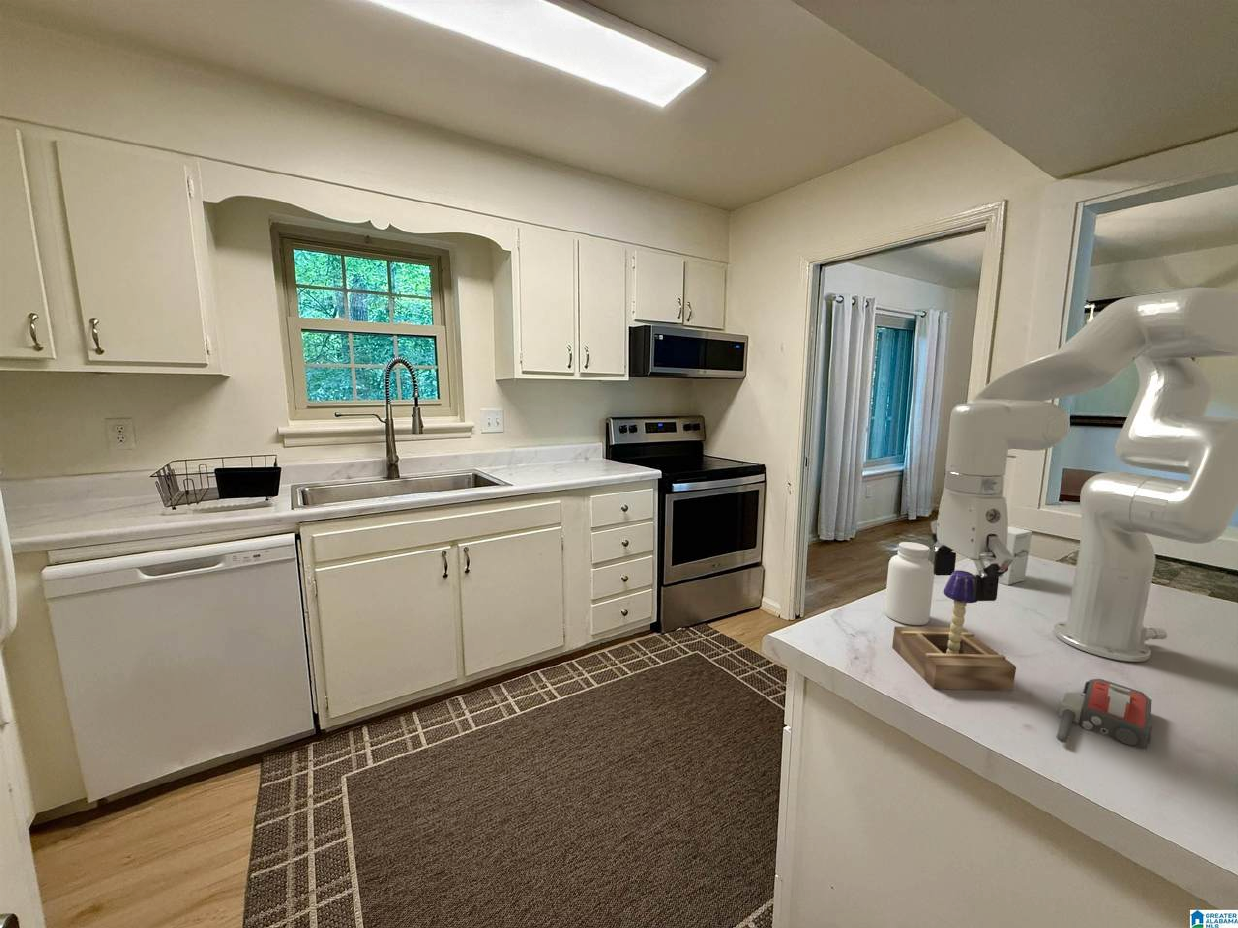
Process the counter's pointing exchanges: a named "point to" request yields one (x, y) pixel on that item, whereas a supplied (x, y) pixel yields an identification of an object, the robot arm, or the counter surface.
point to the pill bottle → (910, 585)
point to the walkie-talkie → (1108, 712)
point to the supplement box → (1015, 555)
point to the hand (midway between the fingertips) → (962, 586)
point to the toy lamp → (958, 605)
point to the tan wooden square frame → (953, 660)
